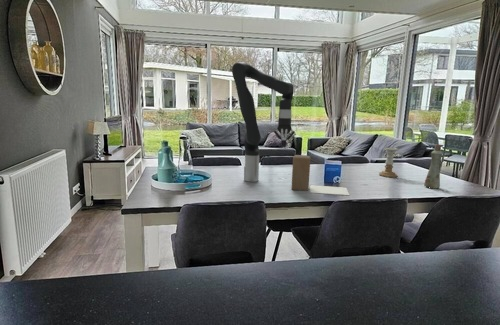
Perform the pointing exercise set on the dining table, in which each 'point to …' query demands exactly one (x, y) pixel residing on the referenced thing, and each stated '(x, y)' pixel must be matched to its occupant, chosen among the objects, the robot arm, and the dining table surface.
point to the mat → (329, 190)
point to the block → (301, 172)
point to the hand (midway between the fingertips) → (283, 146)
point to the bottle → (434, 169)
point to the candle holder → (389, 163)
